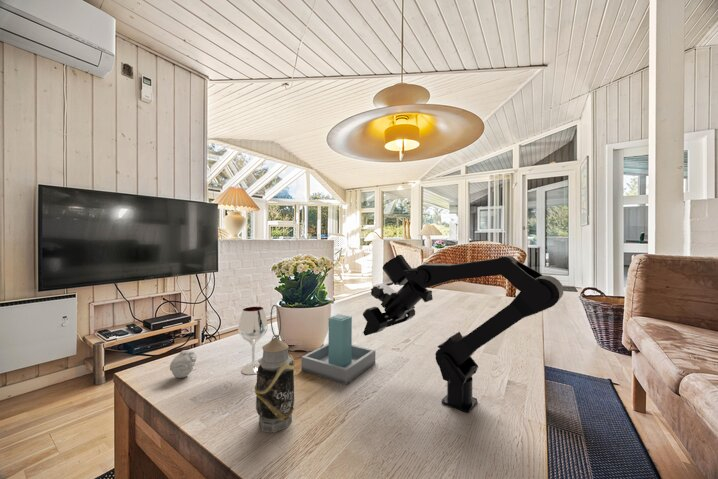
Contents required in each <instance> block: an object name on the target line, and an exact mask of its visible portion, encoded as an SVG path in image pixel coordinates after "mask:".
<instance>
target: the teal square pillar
mask: <svg viewBox="0 0 718 479" xmlns="http://www.w3.org/2000/svg"><path fill="white" fill-rule="evenodd" d="M352 318H353V317H352V316H350V315H345V314H335V315H333V316H331V317H328V343H329V355H328V363H330V364H334V365H337V366H340V367H345V366H347V365H348V364H350V363H351V362H352V345H353V343H352V340H353V339H352V338H353V337H352V336H353V333H352V328H353V327H352V326H353V325H352V324H353V322H352V321H353V320H352Z"/></svg>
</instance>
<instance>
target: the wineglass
mask: <svg viewBox="0 0 718 479" xmlns="http://www.w3.org/2000/svg"><path fill="white" fill-rule="evenodd" d="M268 327H269V326H268V319H267V316H266V313H265V309H264V307H262V306H248V307H245V308H243V309H242V312H241V314H240V319H239V323H238V328H237V331H238V334H239V335H240V337H241V338H242V339H243V340H245V341H246V342H248V344H250V346H251V364H249V365H248V364H247V365H246V366H243V368H241V373H242V374H243V375H247V376H248V375H257V370H258V367H259V366H260V364H259V363H256V362H255V361H256V360H255V359H256V358H255V357H256V356H255V355H256V354H255V352H256V351H255V350H256V349H255V348H256V347H255V346H256V344H257V343H258V342H259V341H260V340H261V339H262V338H263V337H264V336H265V334H267V332H268V330H269V329H268Z"/></svg>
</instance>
